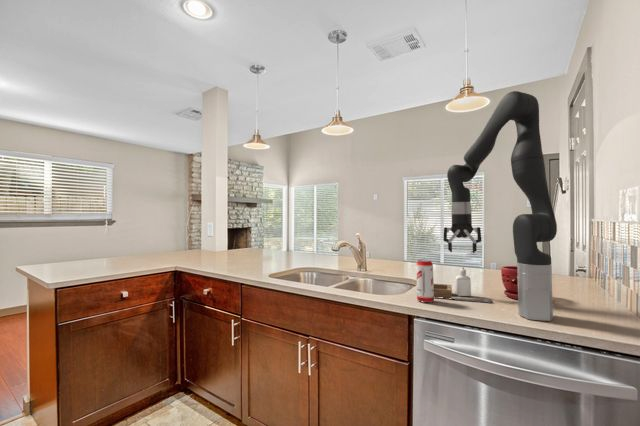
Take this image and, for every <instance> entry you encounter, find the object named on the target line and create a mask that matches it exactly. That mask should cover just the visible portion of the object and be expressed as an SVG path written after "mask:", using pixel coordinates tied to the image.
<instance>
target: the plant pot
mask: <svg viewBox="0 0 640 426" xmlns="http://www.w3.org/2000/svg"><path fill="white" fill-rule="evenodd" d="M500 271H501V272H500V273H501V282H502V284H503V287H504V288H505V290H503V294H504V295H505V296H506V297H508V298H511V299H515V300H518V274H517V266H516V265H515V266H514V265H510V266H509V265H508V266H507V265H506V266H501V268H500Z"/></svg>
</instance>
